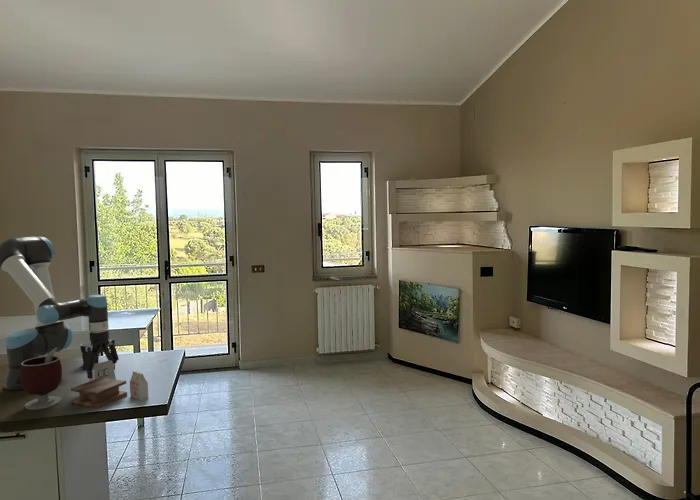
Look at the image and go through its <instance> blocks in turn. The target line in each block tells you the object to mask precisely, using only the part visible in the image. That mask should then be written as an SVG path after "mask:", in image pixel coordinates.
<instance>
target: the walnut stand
mask: <svg viewBox="0 0 700 500" xmlns="http://www.w3.org/2000/svg"><path fill="white" fill-rule="evenodd" d="M126 384H127V380H121V379H109V378H102V377H101V378H98V379H95V380H92V381H90V382H89V381H87V382H85V383H82V384H79V385H76V386H74V387H71V388H70V392H74V393H79V396H77V397H75V398H72V399H71V404H72V403H75V404H74V405H77V404H80V405H79V406H83V405H84V406H85V407H88V406H90V407H89V408H95V409H100V408H101V407H104V406H107V405H109V404H111V403H113V402H116V401H118V400H120V399H123V398H125V397H127V396H128V392H127V391H122V390H120V387H121V386H124V385H126Z"/></svg>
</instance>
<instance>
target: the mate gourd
mask: <svg viewBox="0 0 700 500" xmlns="http://www.w3.org/2000/svg"><path fill="white" fill-rule="evenodd" d="M56 349H57V348H54V349H53V350H52V351H51V352H50V353H49V354H47V355H44V356H40V357H36V358H32V359H28V360H25V361H23V362H22V363H21V369H20V380H21V384H22V387H23V389H22V390H24V391H25V392H26V393H27V394H29V395H33V396H38V398H34V399H32V400H29V401H27V402H26V403H25V404H24V408H25V409H26V410H33V411H35V410H43V409H47V408H51V407H54V406H57V405H59V404H60V403H62V397H61V396H57V395H56V396H55V395H50V396H49V395H48V394H50V393H51V392H53V391H56V390H57V389H58V387H59V386H60V384H61V382H62V377H63V370H62V369H63V366H62V363H61V362H62V361H61V359H60V357H59V356H57V355H54V354H55V353H56V352H55V350H56ZM54 352H55V353H54ZM59 402H60V403H59ZM58 403H59V404H58ZM56 404H57V405H56Z"/></svg>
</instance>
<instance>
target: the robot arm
mask: <svg viewBox="0 0 700 500" xmlns="http://www.w3.org/2000/svg"><path fill="white" fill-rule="evenodd" d="M54 254H55V249H54V245H53V243H52V242H51V241H50V240H49V239H48V238H47V237H46V236H45V237H44V236H36V235H35V236H24V237H23V236H22V237H10V238H6V239H5V240H3V241H1V242H0V269H1V270H2V271H3V272H5V273H8V274H9V275H10V276H11V278H12V279H13V281H14V282H15V283H16V284H17V286H19V288H20V289H21V290H22V291H23V292H24V293H25V295H26V296H27V297H28V299H29V300H30V301H31V302H32V303H33V309H34V312H35V313H34V314H35V318H36V324H35V325H34V328H24V329H20V330H15V331H14V332H12V333H10V334H8V335H7V337H6V343H5V348H6V355H7V357H6V360H7V373H6V374H5V375H6V376H5V380H4V386H3V387H4V389H5V390H9V391H19V390H24V389H23V387H22V384H21V380H20V369H21V363H22V362H23V361H25V360H28V359H32V358H36V357H43V356H47V355H48V354H49V353H50V352H51V351H52V350H53V349H54V348H57V349H56V350H55V352H54V354H55V353H59V352H61V351H64V350H67V348H69V347H70V346H71V343H72V341H73V331H72V329H71V327H70V326H69V325H68V324H65V322H64V321H65V320H71V319H74V318H75V319H76V318H80V317H88V331H89V342H91V345H90V346H88V347H84V350H85V355H84V361H83V360H82V368H81V370H82V371H86V373H87V375H86V376H87V377H86V378H87V379H88V382H90V381H92V380H95V373H94V370H93V367H94V364H95V361H96V358H97V356H98V355H99V356H100V354H101V353H103V354H104V355H105V356H104V357H106V359H107V361H109V360H112V362H113V367H114V371H115V370H116V363H117V362H118V361H119V355H118V352H117V349H116V343H115V342H116V341H115V340H114V339H110V331H109V315H108V314H109V312H108V299H107V296H106V295H105V294H92V295H88V297H87V298H71V299H70V300H68V301H62V302H59V301H58V300H57V298H56V297H55V294H54V289H53V285H52V284H53V283H52V281H51V280H52V279H51V275H50V271H49V266H51V264H52V262H51V260H52V259H53V258H54V256H55V255H54ZM94 352H95V353H94ZM117 364H118V363H117Z"/></svg>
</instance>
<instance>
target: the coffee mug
mask: <svg viewBox="0 0 700 500" xmlns="http://www.w3.org/2000/svg"><path fill="white" fill-rule="evenodd" d="M90 345H91V341H88V342H83V343H80V345H79V347H80V353H81V357H82V362H83V361H84V355H85V350H84V347H88V346H90ZM94 353H95V352H94ZM99 358H100V354H99V355H98V356H97V358H96V361H95V364H97V363H99V360H100V359H99Z"/></svg>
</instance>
